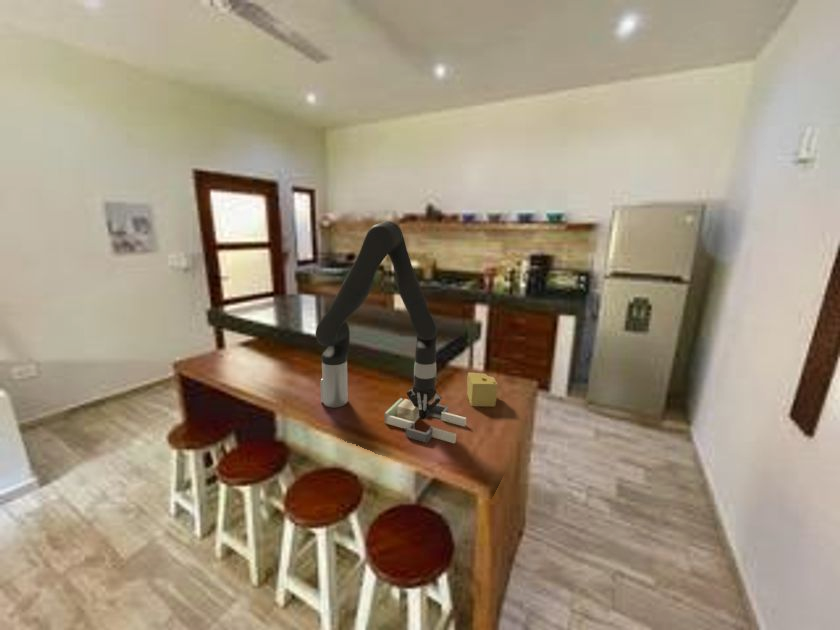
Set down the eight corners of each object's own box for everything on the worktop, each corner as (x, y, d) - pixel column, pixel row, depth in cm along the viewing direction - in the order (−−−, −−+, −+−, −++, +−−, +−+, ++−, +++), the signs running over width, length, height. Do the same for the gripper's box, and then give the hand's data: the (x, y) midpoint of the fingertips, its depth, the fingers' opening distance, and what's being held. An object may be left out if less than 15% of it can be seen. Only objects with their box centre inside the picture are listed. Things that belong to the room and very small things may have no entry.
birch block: (397, 421, 130) (397, 406, 129) (404, 413, 136) (405, 398, 134) (412, 425, 128) (412, 410, 126) (419, 417, 133) (420, 402, 132)
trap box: (378, 428, 125) (379, 418, 124) (404, 402, 143) (405, 393, 142) (450, 450, 116) (451, 439, 114) (469, 419, 133) (469, 409, 132)
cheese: (490, 394, 153) (492, 372, 150) (496, 407, 142) (498, 384, 140) (465, 394, 152) (467, 372, 150) (469, 407, 142) (471, 383, 139)
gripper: (402, 373, 124) (401, 418, 128) (439, 381, 119) (436, 428, 123) (412, 365, 130) (410, 409, 135) (447, 372, 125) (444, 417, 130)
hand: (423, 418), depth 129 cm, fingers closed
